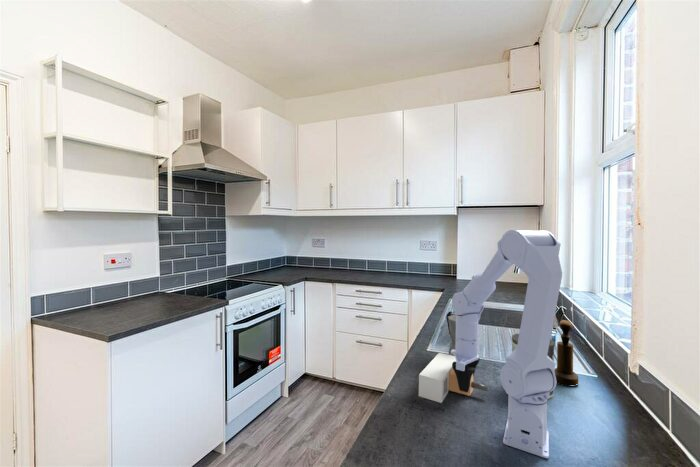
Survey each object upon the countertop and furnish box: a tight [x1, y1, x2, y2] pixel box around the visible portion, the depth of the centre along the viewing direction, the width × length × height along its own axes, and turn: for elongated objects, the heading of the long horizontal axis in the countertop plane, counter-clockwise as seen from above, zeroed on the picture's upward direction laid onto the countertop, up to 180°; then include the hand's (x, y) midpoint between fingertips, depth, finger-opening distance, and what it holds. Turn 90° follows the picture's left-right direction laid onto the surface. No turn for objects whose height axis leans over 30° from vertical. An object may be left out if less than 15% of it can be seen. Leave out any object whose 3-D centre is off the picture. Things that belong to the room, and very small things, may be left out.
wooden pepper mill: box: [555, 319, 579, 386], centre depth 92 cm, size 7×6×18 cm
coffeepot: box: [445, 311, 456, 356], centre depth 104 cm, size 15×9×18 cm, turn 15°
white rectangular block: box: [418, 352, 456, 404], centre depth 89 cm, size 18×6×6 cm, turn 148°
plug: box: [449, 368, 489, 397], centre depth 85 cm, size 4×13×4 cm, turn 57°
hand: (465, 387), depth 85 cm, fingers closed on plug, 4 cm apart
